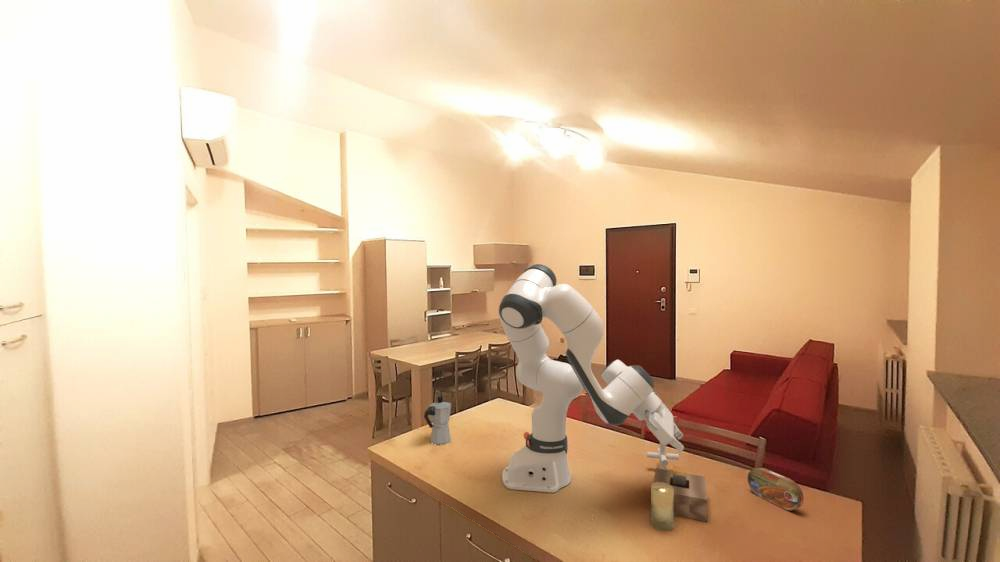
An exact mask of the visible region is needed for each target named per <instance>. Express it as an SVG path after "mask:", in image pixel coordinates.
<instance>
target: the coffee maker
mask: <svg viewBox="0 0 1000 562" xmlns="http://www.w3.org/2000/svg"><path fill="white" fill-rule="evenodd" d="M443 398H444V396H443V395H439V396H437V398H436V399H437V402H432V403H431V404H430V405H428V408H427V409H425V411H424V415H423V417H424V419H425V421H426V423H427V425H428V426H429V428H430V429H431V433H430V440H431V443H433V444H432V445H434V444H436V445H435V446H438V445H437V444H446V443H448V442H450V441H451V442H452V439H451V432H450V425H449V422H450V419H451V410H452V402H447V401H446V402H445V401H443V400H444V399H443ZM429 416H430V418H429ZM451 442H450V443H451ZM431 443H430V444H431ZM448 444H449V443H448ZM446 445H447V444H446Z"/></svg>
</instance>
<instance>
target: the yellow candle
mask: <svg viewBox="0 0 1000 562" xmlns="http://www.w3.org/2000/svg"><path fill="white" fill-rule="evenodd" d="M650 488H651V489H650V491H651V492H650V494H651V495H650V498H651V499H650V500H651V501H650V502H651V503H650V505H651V506H650V516H651V517H650V518H651V519H650V520H651V521H650V523H651V525H652V527H654V528H655V529H657V530H660V531H671V530H673V529H674V528H675V527H674V526H675V523H674V516H675V515H674V488H673V487H672V486H671V485H669V484H667V483H663V482H655V483H651V487H650Z"/></svg>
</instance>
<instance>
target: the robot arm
mask: <svg viewBox="0 0 1000 562" xmlns="http://www.w3.org/2000/svg"><path fill="white" fill-rule="evenodd" d="M497 313H498V317H499V321H500V324H501V327H502V329H503V331H504V334H505V337H506V338H507V339H508V341H509V343H510V344H511V347H512V348H513V350H514V352H515V354H516V356H517V358H518V363H517V365H516V367H515V368H516V369H515V376H516V378H517V380H518V382H519V383H520V384H522V385H523V386H524V387H526V388H528V389H530V390H533V391H536V392H539V393H542V400H541V403H540V404H538V405H537V406H535V407H534V408H533V410H532V412H531V433H530V432H528V431H526V432H525V431H524V433H523V439H524V440H525V445H524V446H522V447H521V448H520V449H519V450H517V451H515V452H514V453H512V455H511V457H510V461H509V465H508V466H505V468H503V470H502V475H501V480H502V484H503V486H505V488H506V489H508V490H518V491H519V490H520V491H529V492H540V493H557V492H558V491H559V490H560V489H561V488H564V487H566V486H568V485H569V484H570V483H571V482H572V477H571V473H570V469H569V463H568V455H567V454H568V449H569V448H568V446H569V445H568V444H569V442H568V436H567V414H568V409H569V407H570V404H571V403H572V401H574V399H576V398H577V397H578V396H579V395H580V394H581V393H582V391H583V389H584V391H585V392H586V394H587V395H588V397H589V399H590V401H591V404H592V405H593V408H594V411H595V412H596V414H597V415H598V417H599V418H600V419H601V420H602V421H603V422H605V423H606V424H607V425H610V426H620V425H622V424H624V423H625V422H626V420H627V419H628V418H629V416H630V415H631V414H633V415H634V416H635V417H636V418H637V419H638V420H639V421H640V422H641V421H644V420H645V424H646V427H647V428H648V430H650V432H651V433H652V435H653V436H654V437H655V438H656V439H657V440H658V441H659V443H660V442H661V443H662V444H663V445H665V446H668V445H671V446H672V447H673V448H675V449H676V450H677V452H679V453H680V452H681V453H682V451H683V450H685V446H684V445H683V444H682V443H681V442H680V441H678V440H681V439H682V438H684V434H683V432H681V431H682V430H680V429H679V428H678V426H677V424H676V423H675V421H674V415H673V413H672V412H671V410H669V408H668V407H667V406H666V405H665V403H663V401H662V400H661V398H660V396H659V394H658V393H657V392H655V391H654V389H655V383H654V382H655V381H654V378H653V377H652V376H651V375H650V374H649V373H648V372H647V371H646V370H645V369H644V368H643V366H641V365H638V364H637V365H635V364H633V365H632V364H631V365H629V366H628V365H626V364H625V363H624V362H623V361H622V360H620V359H615V360H613V361H611V363H609V364H608V365H607V366H606V367H605V368H604V370H603V371H602V372H601V378H602V380H603V381H604V382H605V384H606V386H605V387H604V388H602V387H601V384H600V383H599V381H598V380H597V378H596V376H595V375H594V373H593V369H592V362H593V359H594V355H595V353H596V351H597V349H598V347H599V346H600V344H601V341H602V339H603V334H604V322H603V320H602V318H601V317H600V316H601V315H599V313H598V312H597V310H595V308H594V307H593V306H592V305H591V304H590V303H589V301H588V300H587V299H586V298H585V297H584V296H583V295H582V294H581V293H580V292H578V291H577V290H576V289H575V288H574V287H572V286H571V285H569V284H567V283H558V284H557V277H556V274H555V272H554V271H553V270H552V269H551V268H550V267H548V266H547V265H544V264H541V263H537V264H532V265H530V266H529V267H527V268H526V269H524V271H523V272H522V274H520V275H519V277H517V279H516V280H515V281H514V282H513V283H512V285H511V287H509V290H508V291H507V292H506V295H504V296H503V297H502V299H501V301H500V303H499V307H498V312H497ZM543 318H544V319H545V318H546V319H547V320H548V319H549V320H550V321H551V322H553V323H554V325H555V326H556V328H557V329H558V330H559V331H560V333H561V334H562V335H563V337H564V338H565V341H566V347H567V349H566V351H565V355H566V358H567V361H568V362H569V363H567V362H562V361H559V360H556V359H555V360H553V359H552V358H550V357H549V356H548V355H547V352H548V349H549V348H550V339H549V338H548V336H547V334H546V332H545V330H544V328H543V326H542V325H541V323H542V322H543ZM676 438H677V439H676Z"/></svg>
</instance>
